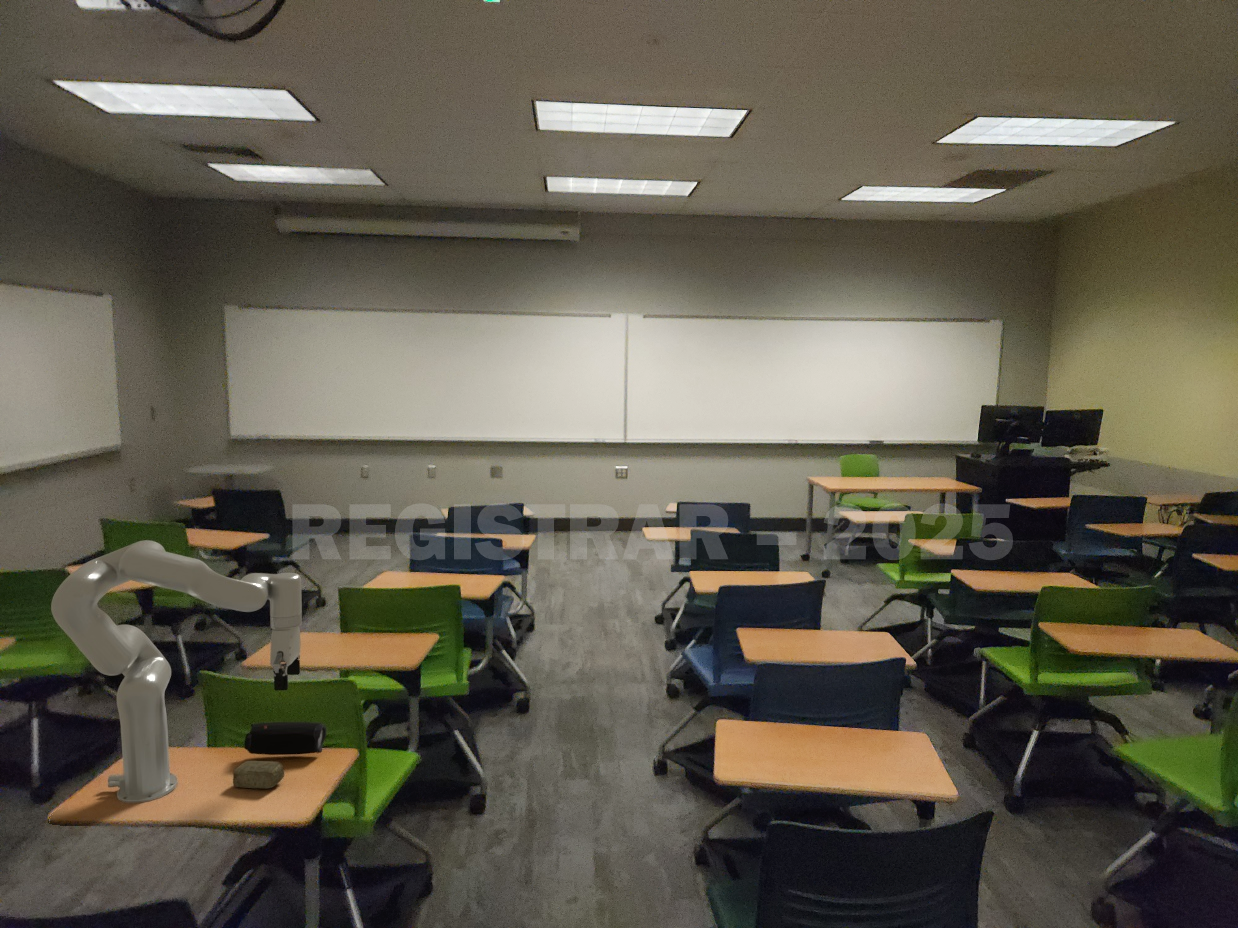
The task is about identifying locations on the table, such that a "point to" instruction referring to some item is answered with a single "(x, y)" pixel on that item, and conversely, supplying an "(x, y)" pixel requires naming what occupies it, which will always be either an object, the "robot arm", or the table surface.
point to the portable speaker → (285, 738)
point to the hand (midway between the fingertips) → (287, 681)
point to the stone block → (258, 774)
